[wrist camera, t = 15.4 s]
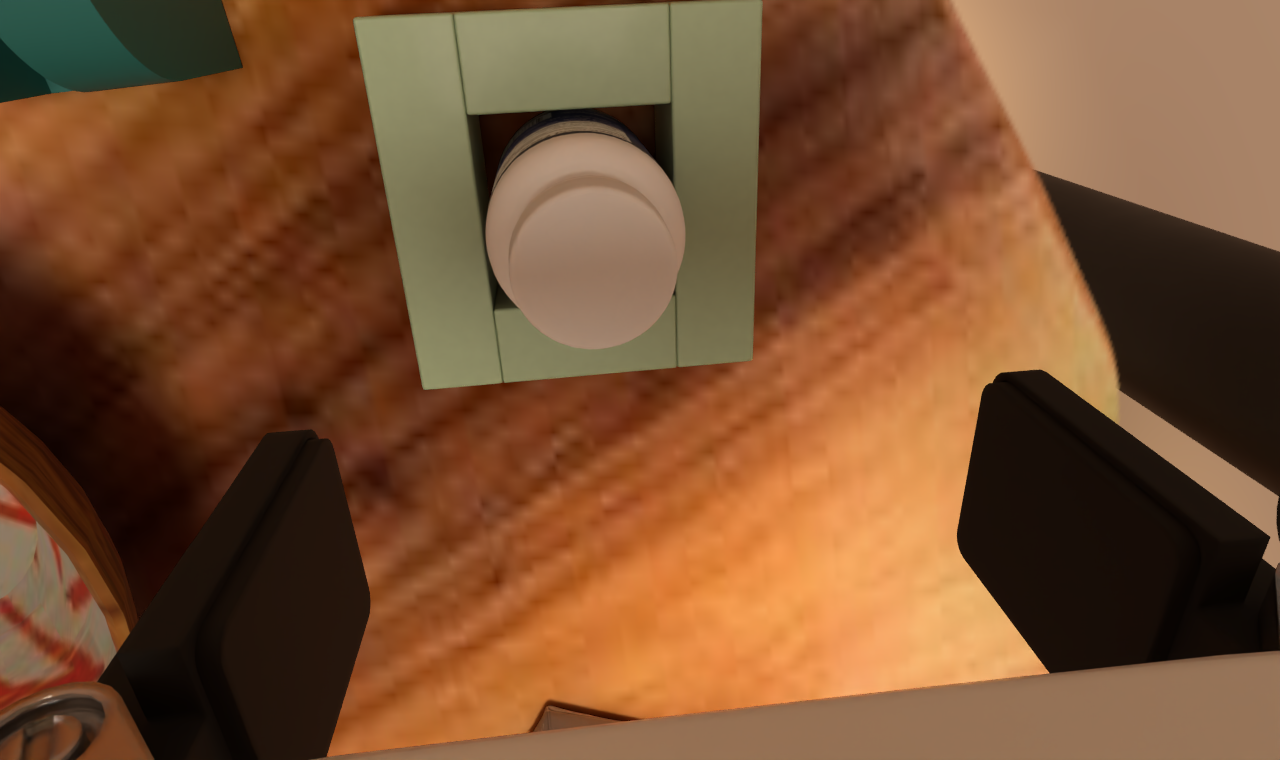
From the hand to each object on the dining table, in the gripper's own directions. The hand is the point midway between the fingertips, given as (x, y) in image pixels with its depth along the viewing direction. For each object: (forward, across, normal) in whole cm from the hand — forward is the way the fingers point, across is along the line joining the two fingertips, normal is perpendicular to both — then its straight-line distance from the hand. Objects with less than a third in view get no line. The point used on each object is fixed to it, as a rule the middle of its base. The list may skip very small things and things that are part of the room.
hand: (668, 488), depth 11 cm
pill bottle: (+18, +1, -1) cm, 18 cm away
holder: (+18, +1, -1) cm, 18 cm away
